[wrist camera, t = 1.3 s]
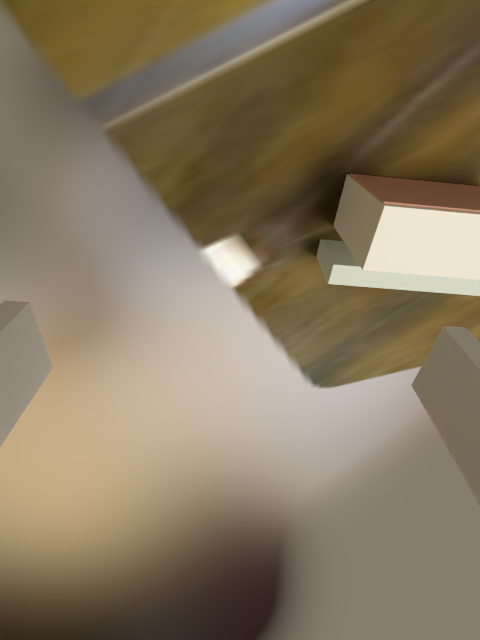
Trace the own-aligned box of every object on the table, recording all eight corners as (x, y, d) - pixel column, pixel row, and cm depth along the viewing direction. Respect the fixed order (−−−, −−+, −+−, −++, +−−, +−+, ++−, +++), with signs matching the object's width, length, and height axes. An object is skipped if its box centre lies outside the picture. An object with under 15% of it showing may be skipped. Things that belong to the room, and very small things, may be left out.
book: (333, 225, 34) (362, 270, 26) (347, 172, 31) (385, 203, 23) (454, 236, 34) (520, 283, 26) (479, 185, 32) (562, 219, 23)
